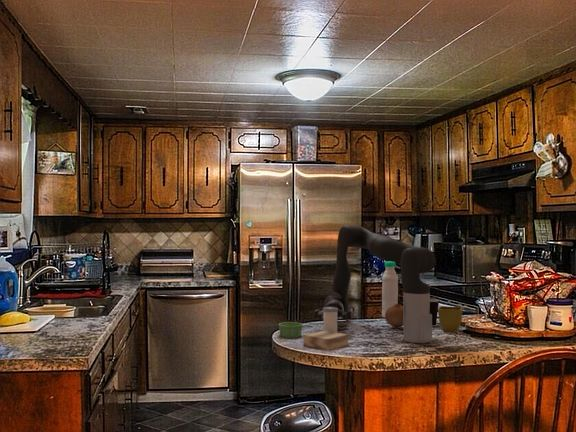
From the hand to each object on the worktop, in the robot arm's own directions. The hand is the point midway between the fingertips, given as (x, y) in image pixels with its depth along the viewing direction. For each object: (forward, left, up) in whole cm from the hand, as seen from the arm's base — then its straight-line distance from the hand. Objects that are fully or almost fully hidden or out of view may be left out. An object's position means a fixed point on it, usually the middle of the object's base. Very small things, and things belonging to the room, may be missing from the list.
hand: (331, 316), depth 209 cm
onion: (-11, -28, -7) cm, 31 cm away
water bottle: (+5, -48, -7) cm, 48 cm away
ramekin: (+9, +13, -7) cm, 17 cm away
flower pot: (-29, -38, -7) cm, 48 cm away
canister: (-4, +6, -7) cm, 10 cm away
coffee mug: (-15, -46, -7) cm, 49 cm away
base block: (-10, +16, -7) cm, 20 cm away
